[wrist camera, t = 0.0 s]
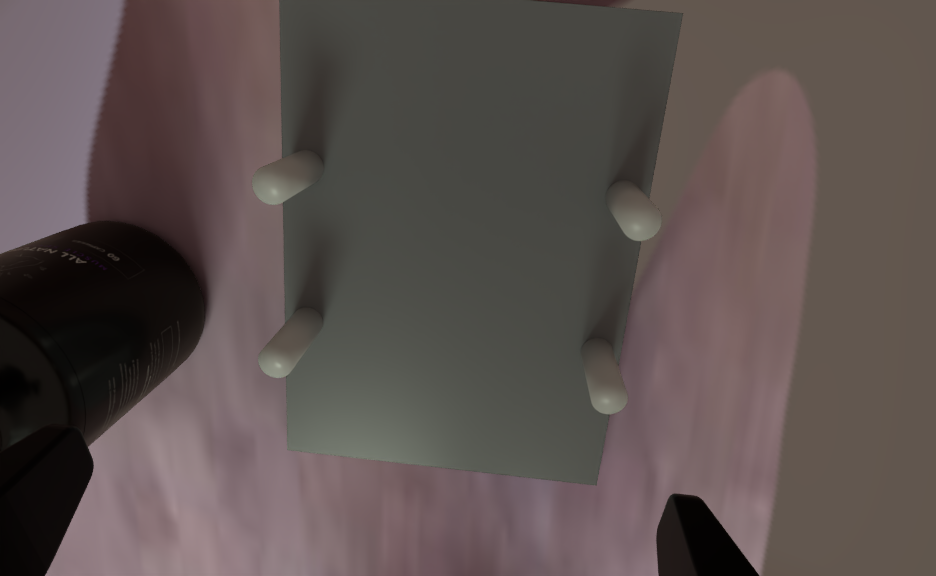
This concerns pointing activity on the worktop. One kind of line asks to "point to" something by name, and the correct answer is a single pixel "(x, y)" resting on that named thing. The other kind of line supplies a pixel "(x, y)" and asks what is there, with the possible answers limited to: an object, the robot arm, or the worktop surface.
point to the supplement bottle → (91, 326)
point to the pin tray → (463, 226)
